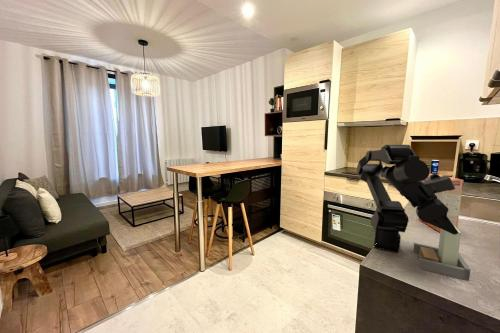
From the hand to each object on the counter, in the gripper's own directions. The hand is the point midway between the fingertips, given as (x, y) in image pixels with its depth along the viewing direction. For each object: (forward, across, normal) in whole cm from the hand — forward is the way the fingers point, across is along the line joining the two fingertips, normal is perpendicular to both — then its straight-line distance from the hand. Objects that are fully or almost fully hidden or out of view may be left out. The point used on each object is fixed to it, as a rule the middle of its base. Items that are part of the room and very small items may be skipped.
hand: (451, 227), depth 58 cm
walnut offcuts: (+6, 0, +11) cm, 12 cm away
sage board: (+8, 0, +8) cm, 11 cm away
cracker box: (+11, +34, +6) cm, 36 cm away
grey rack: (+7, 0, +9) cm, 11 cm away
